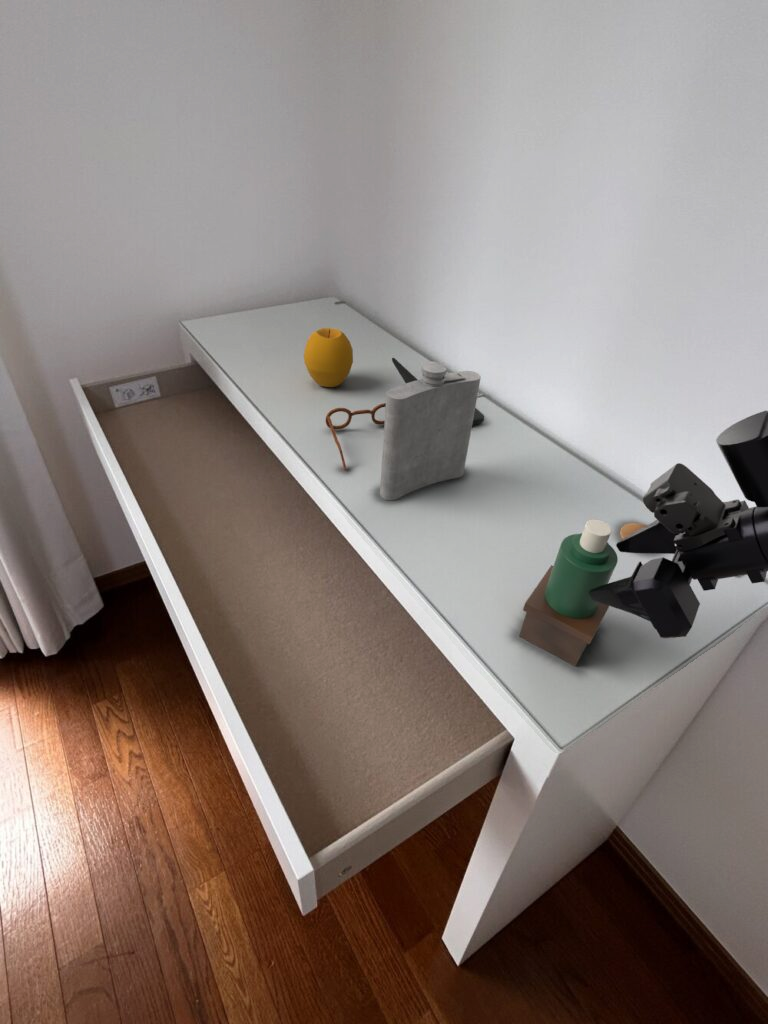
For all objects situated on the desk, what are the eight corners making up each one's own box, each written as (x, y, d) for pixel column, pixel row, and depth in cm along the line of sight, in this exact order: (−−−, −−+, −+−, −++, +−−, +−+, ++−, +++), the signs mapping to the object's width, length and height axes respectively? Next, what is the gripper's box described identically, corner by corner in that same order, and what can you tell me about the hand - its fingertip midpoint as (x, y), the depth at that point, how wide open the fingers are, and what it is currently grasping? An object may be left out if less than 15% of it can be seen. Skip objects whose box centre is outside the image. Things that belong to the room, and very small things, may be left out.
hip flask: (386, 502, 88) (396, 383, 75) (373, 488, 90) (379, 371, 78) (467, 474, 95) (488, 361, 82) (452, 462, 97) (470, 351, 85)
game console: (486, 424, 108) (495, 380, 102) (422, 436, 103) (427, 391, 97) (446, 388, 119) (452, 346, 113) (387, 397, 114) (390, 354, 108)
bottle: (601, 591, 67) (632, 520, 60) (591, 626, 63) (624, 554, 56) (551, 573, 69) (575, 502, 62) (538, 606, 65) (563, 534, 58)
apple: (310, 398, 112) (309, 340, 104) (299, 376, 119) (297, 321, 111) (358, 393, 115) (360, 336, 107) (344, 372, 122) (345, 317, 114)
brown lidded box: (600, 627, 71) (615, 594, 67) (577, 670, 66) (592, 637, 62) (540, 597, 74) (551, 564, 70) (514, 636, 69) (524, 603, 65)
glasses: (394, 423, 106) (395, 399, 103) (417, 462, 97) (420, 437, 94) (325, 431, 103) (324, 406, 100) (342, 472, 93) (343, 446, 90)
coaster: (663, 533, 86) (664, 531, 86) (659, 557, 82) (660, 555, 81) (623, 520, 88) (624, 518, 88) (617, 542, 84) (618, 540, 83)
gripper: (744, 417, 55) (597, 468, 66) (704, 513, 42) (533, 555, 54) (792, 514, 56) (642, 547, 68) (768, 633, 44) (589, 649, 56)
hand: (605, 570), depth 61 cm, fingers open, 9 cm apart
